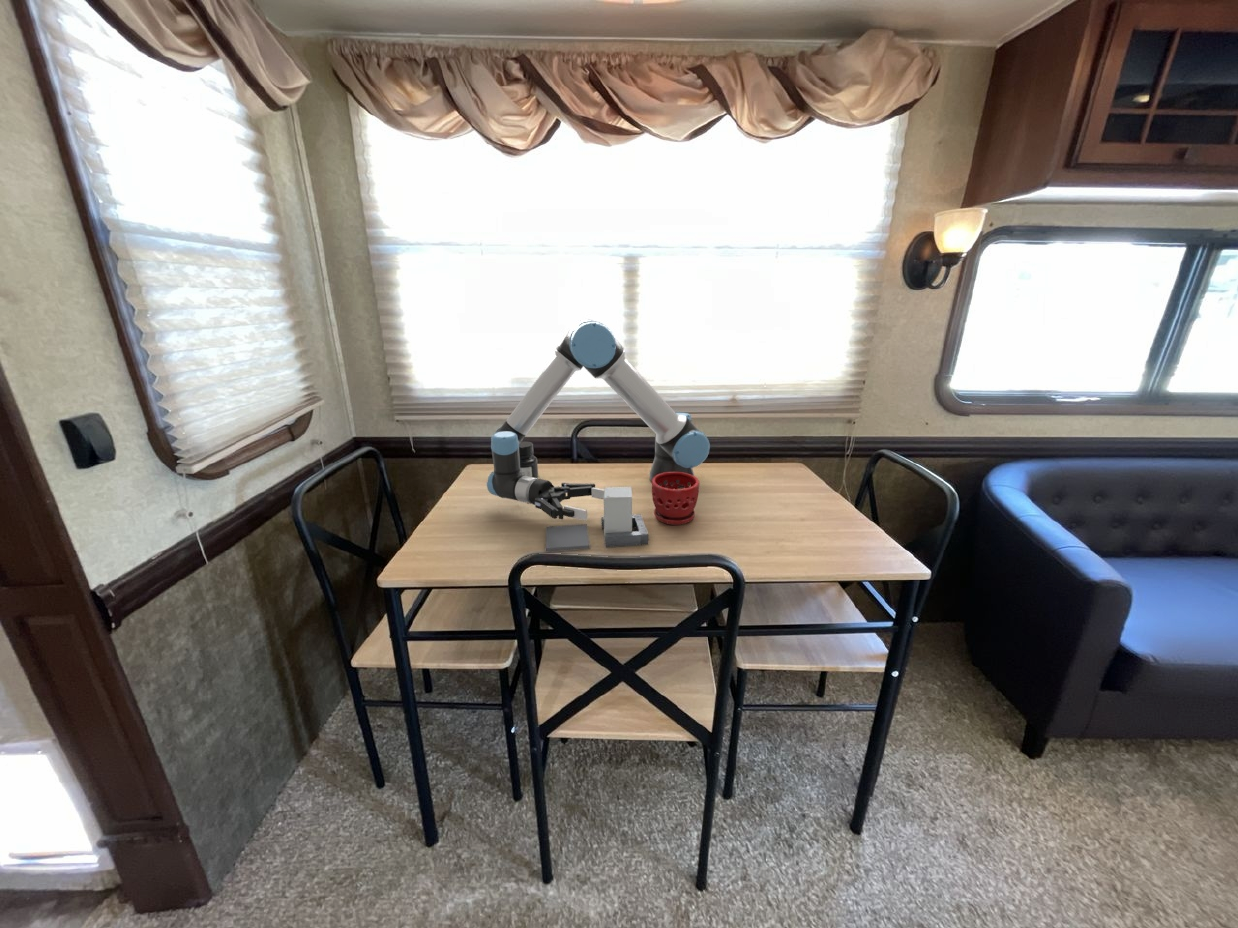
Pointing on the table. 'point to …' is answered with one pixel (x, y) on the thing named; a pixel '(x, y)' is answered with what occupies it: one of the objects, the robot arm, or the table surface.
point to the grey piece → (628, 534)
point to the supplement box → (617, 509)
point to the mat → (567, 538)
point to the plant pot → (675, 497)
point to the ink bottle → (527, 460)
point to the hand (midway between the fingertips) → (600, 505)
